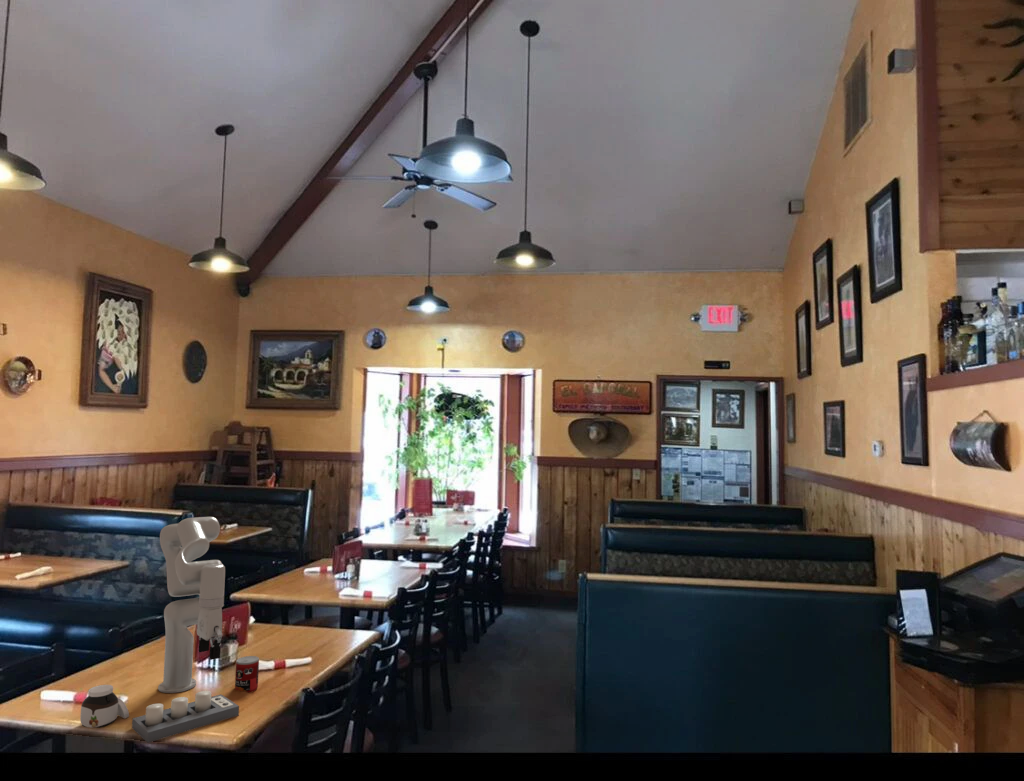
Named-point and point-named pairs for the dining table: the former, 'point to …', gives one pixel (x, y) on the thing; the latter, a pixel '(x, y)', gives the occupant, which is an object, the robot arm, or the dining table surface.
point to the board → (186, 719)
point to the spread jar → (102, 707)
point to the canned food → (247, 674)
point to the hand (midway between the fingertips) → (209, 654)
